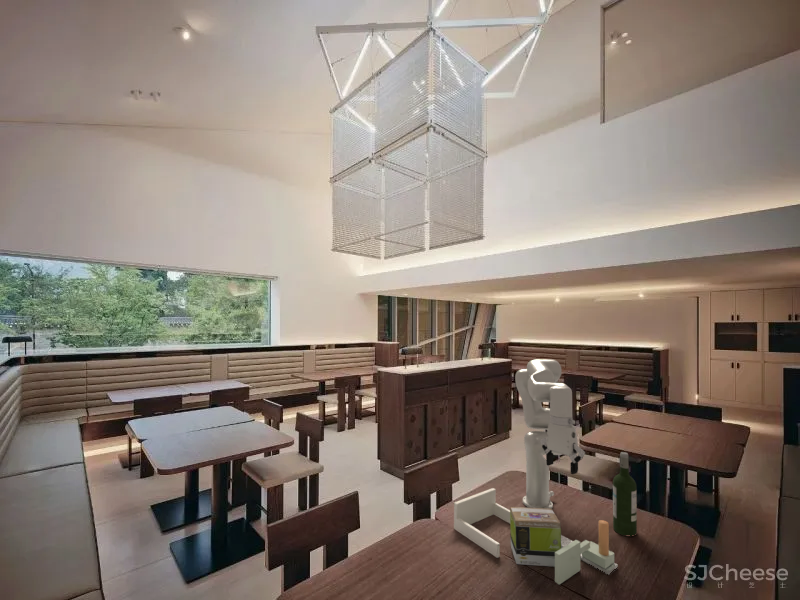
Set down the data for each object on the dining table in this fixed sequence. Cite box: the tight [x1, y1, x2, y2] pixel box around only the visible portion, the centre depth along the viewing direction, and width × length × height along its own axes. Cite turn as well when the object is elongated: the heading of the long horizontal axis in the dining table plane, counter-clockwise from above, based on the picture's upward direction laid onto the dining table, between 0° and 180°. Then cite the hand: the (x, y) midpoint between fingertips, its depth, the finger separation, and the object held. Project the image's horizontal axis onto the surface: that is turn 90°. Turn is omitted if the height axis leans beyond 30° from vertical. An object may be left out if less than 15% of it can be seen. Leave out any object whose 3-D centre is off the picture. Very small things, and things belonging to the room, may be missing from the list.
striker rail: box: [561, 534, 619, 576], centre depth 141 cm, size 6×40×1 cm, turn 35°
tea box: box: [509, 506, 562, 568], centre depth 132 cm, size 15×10×15 cm, turn 84°
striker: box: [554, 519, 615, 586], centre depth 124 cm, size 24×8×14 cm, turn 125°
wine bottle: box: [612, 451, 638, 536], centre depth 149 cm, size 8×8×30 cm
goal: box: [453, 487, 510, 559], centre depth 146 cm, size 22×22×10 cm
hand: (561, 468), depth 138 cm, fingers open, 9 cm apart
